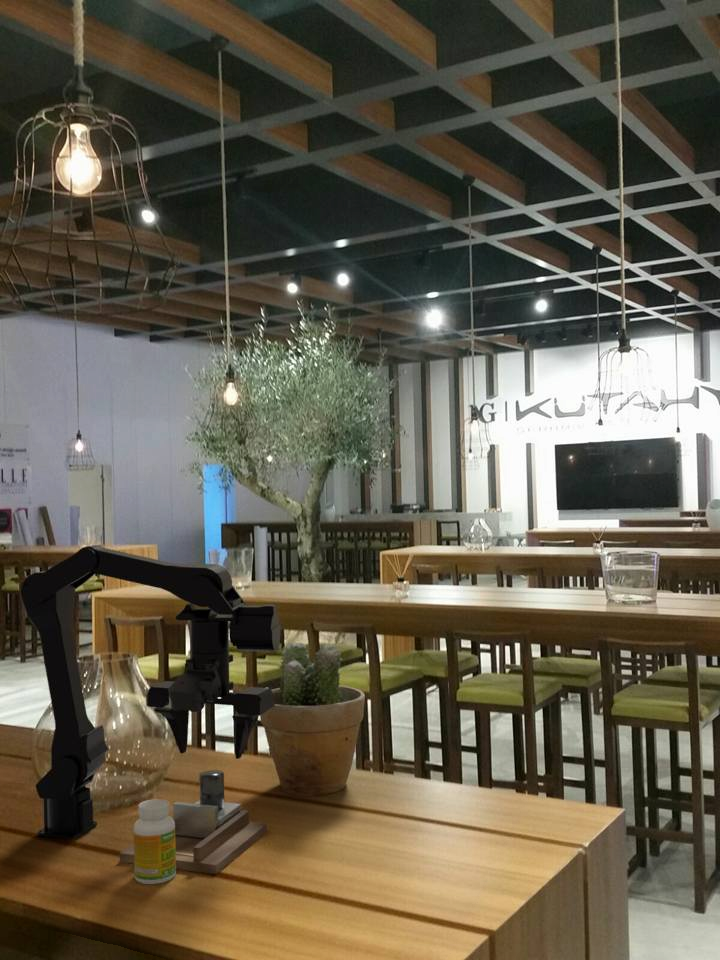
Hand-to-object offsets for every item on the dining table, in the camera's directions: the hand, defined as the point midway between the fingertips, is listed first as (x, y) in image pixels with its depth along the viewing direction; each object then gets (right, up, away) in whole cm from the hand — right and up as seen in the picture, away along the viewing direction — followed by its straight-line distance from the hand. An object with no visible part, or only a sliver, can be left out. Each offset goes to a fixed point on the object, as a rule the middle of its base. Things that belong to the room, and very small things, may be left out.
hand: (210, 755), depth 141 cm
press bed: (-1, -12, -4) cm, 13 cm away
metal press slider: (0, -10, -1) cm, 10 cm away
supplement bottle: (-5, -12, -15) cm, 20 cm away
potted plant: (+14, -12, +22) cm, 29 cm away
